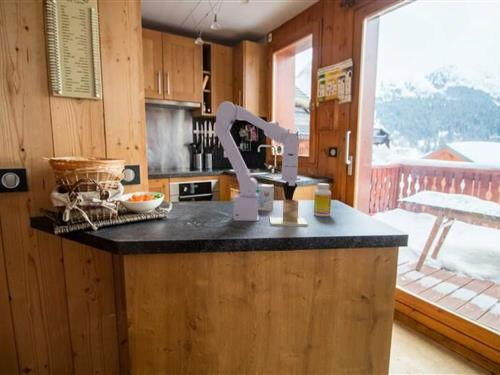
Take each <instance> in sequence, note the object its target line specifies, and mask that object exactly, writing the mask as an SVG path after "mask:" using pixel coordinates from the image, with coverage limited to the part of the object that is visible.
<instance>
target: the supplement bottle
mask: <svg viewBox="0 0 500 375" xmlns="http://www.w3.org/2000/svg"><path fill="white" fill-rule="evenodd" d="M329 188H330V184H329V183H322V182H321V183H320V182H319V183H317V189H316V190H314V193H313V194H314V198H313V215H314V216H317V217H329V216H330V215H331V205H332V204H331V203H332V192H331V190H329Z"/></svg>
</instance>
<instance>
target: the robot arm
mask: <svg viewBox="0 0 500 375" xmlns="http://www.w3.org/2000/svg"><path fill="white" fill-rule="evenodd" d="M217 107H218V108H217V110H216V112H215V116H216V118H215V129H214V131H215V133H216V136H217V137H218V140H219V142H220V144H221V146H222V148H223V151H224V152H225V154H226V156H227V159H228V160H229V162H230V164H231V167H232V169H233V171H234V174H236V179H237V182H238V184H239V185H238V186H239V192H240V193H239V195H234V196H233V211H232V212H233V213H232V215H233V221H240V222H241V221H243V222H244V221H248V222H249V221H251V222H252V221H254V222H257V221H258V222H259V221H260V216H259V210H258V194H257V193H256V190H257V188H258V184H259V182H258V180H257V179H256V178H255V177H254V176H253V175H252V173H251V172H250V170H249V169H248V167H247V165H246V163H245V161H244V159H243V156H242V154H241V152H240V150H239V148H238V145H237V144H236V142H235V140H234V138H233V135H232V134H231V129H232V127H233V124H234V123H235V122H236V120H238V121H246V122H248V123H250V124H252V125H254V126H256V127H257V128H259V129H261V130H263V134H264V135H265V136H266V137H267V138H269V139H270V140H272V141H274V142H276V143H277V144H279V145H280V144H282V146H283V148H282V149H283V150H282V151H283V152H282V156H281V157H282V158H281V159H282V161H281V162H282V163H281V164H282V165H281V178H280V180H281V181H284V182H282V183H280V185H281V186H282V187H281V188H282V190H283V193H284V194H283V195H284V199H286V200H294V199H293V198H294V194H295V191H296V189H297V188H298V184H297V182H298V181H300V180H301V178H300V177H298V170H299V169H298V166H299V153H298V152H299V146H300V143H301V142H300V139H299V137H298V136H299V135H297V134H296V133H293V132H291V129H289V128H285V127H283V126H281V125H280V122H278V121H276V122H274V121H269V122H267V121H265V120H264V119H262V118H261V117H260V116H258V115H256V114H254V113H253V112H251V111H250V110H248V109H246V108H244V107H242V106H240V105H238V104H233V102H231V101H226V100H225V101H223V102H221V103H220V104H219V106H217Z"/></svg>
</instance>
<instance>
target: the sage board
mask: <svg viewBox="0 0 500 375" xmlns="http://www.w3.org/2000/svg"><path fill="white" fill-rule="evenodd" d="M269 224H270V226H271V227H308V225H309V224H308V222H307V221H306V219H305V218H304V217H298V222H284V221H283V216H281V217H279V216H278V217H275V216H270V217H269Z"/></svg>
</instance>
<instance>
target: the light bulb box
mask: <svg viewBox="0 0 500 375" xmlns="http://www.w3.org/2000/svg"><path fill="white" fill-rule="evenodd" d="M274 186H275V184H267V183H258V188H257V190H256V193H257V194H258V211H267V212H270V211H272V210H273V209H274V197H275V196H274V189H275V188H274Z"/></svg>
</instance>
